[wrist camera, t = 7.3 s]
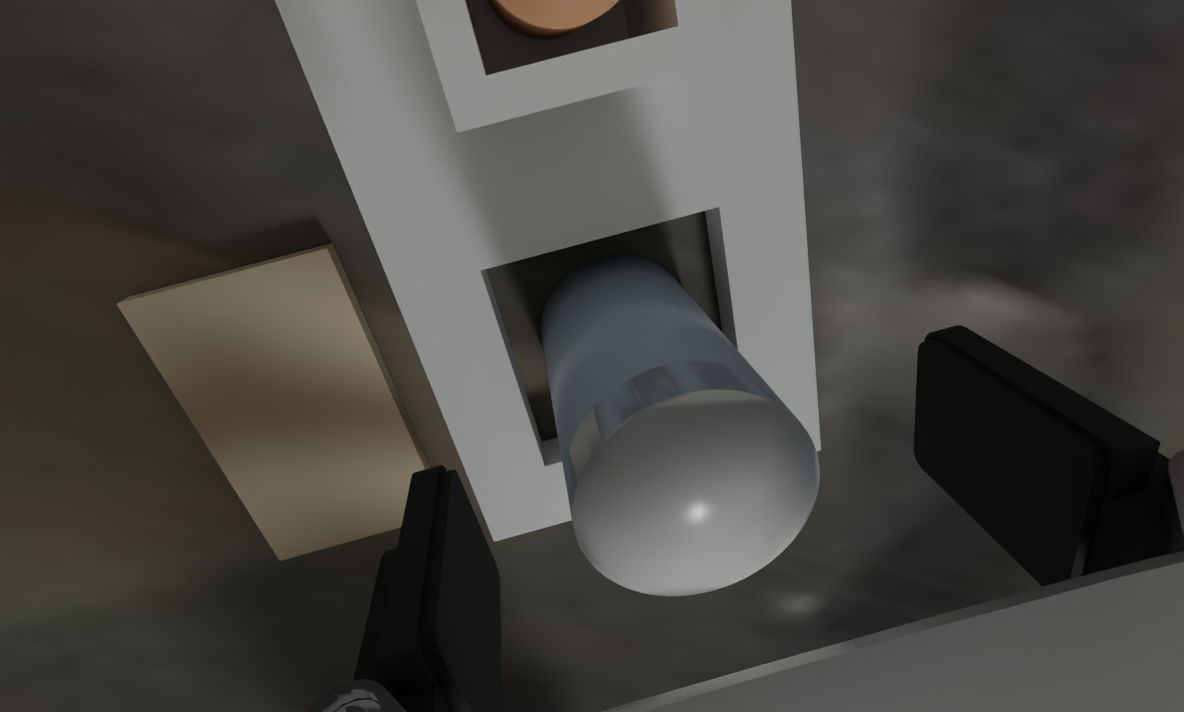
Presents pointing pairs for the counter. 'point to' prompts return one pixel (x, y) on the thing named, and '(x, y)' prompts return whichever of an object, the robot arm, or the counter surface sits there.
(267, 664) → the counter surface
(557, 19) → the brown egg
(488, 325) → the dock
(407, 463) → the pad
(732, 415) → the cylinder
